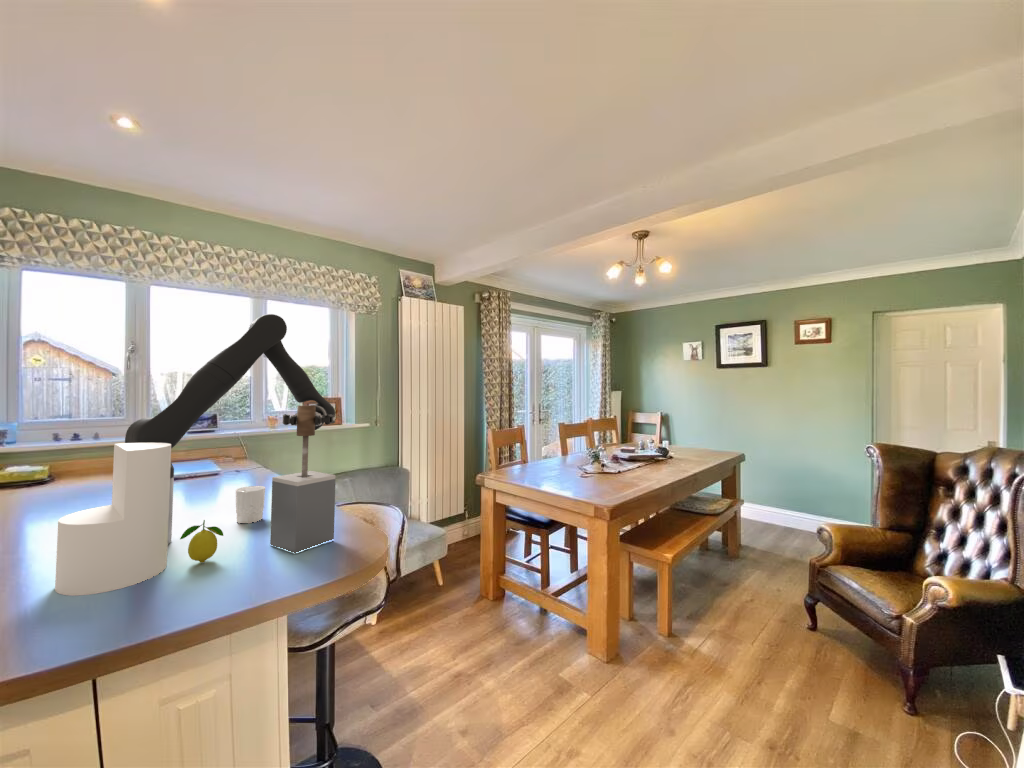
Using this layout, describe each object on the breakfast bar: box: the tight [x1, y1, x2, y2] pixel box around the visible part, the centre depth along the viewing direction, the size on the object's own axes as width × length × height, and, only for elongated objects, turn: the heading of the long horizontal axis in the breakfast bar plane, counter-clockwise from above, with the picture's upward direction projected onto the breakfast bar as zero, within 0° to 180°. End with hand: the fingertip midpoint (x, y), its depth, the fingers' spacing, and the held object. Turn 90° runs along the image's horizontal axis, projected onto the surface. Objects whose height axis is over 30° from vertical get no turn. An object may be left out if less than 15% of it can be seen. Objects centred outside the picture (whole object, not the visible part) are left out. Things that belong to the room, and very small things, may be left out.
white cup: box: [235, 485, 266, 524], centre depth 128 cm, size 8×8×10 cm
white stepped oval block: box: [54, 442, 172, 597], centre depth 89 cm, size 17×17×28 cm
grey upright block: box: [269, 470, 337, 553], centre depth 109 cm, size 11×11×18 cm
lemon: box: [179, 519, 224, 564], centre depth 96 cm, size 7×6×10 cm
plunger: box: [296, 404, 316, 478], centre depth 110 cm, size 8×8×27 cm
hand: (304, 421), depth 107 cm, fingers open, 5 cm apart
